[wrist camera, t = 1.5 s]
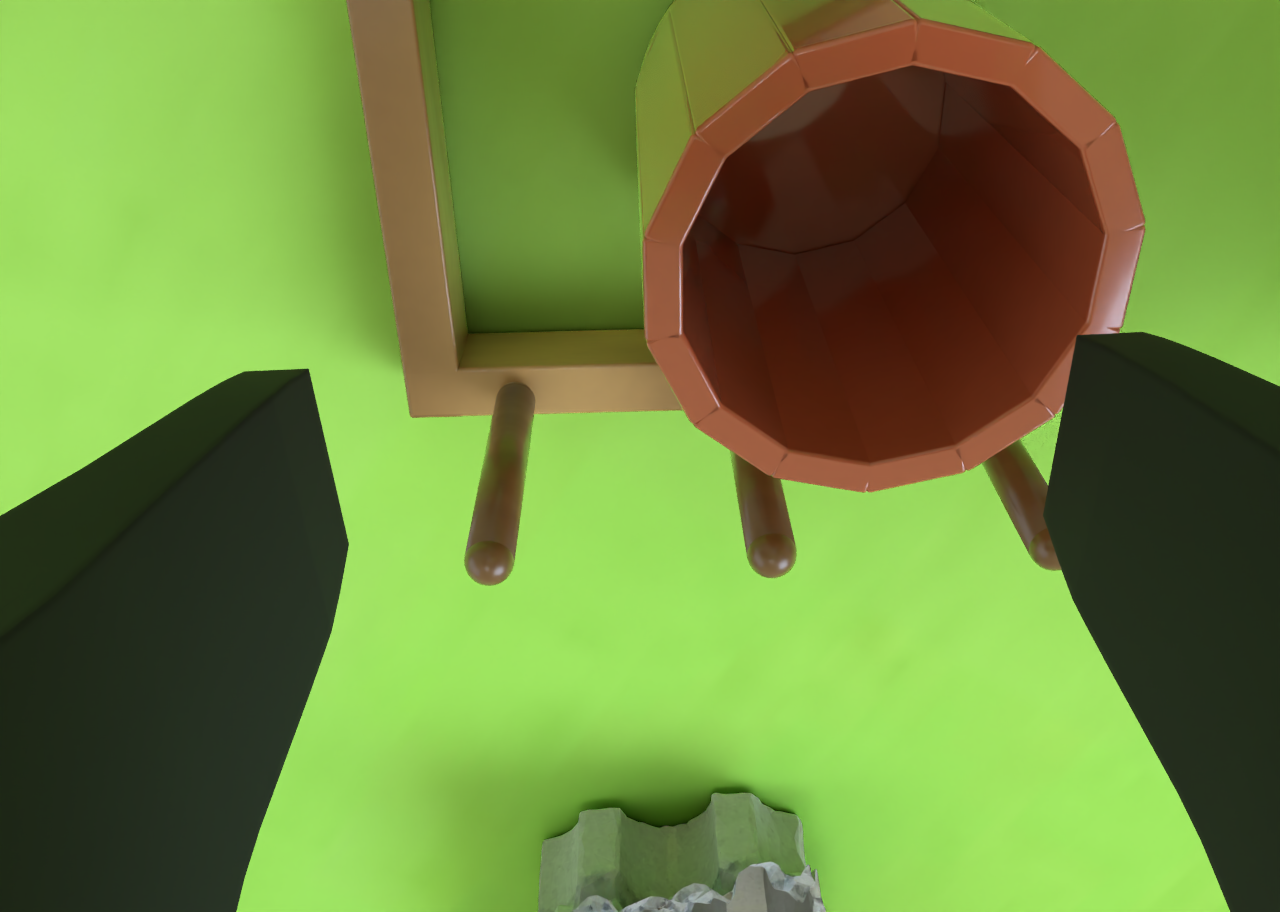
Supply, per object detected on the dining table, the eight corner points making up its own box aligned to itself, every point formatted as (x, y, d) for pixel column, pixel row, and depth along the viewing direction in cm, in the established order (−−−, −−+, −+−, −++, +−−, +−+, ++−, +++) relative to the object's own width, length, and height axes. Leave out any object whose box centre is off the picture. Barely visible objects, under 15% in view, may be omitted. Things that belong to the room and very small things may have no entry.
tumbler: (983, -79, 17) (1198, 11, 11) (938, 260, 20) (1086, 488, 14) (631, -70, 17) (636, 26, 11) (638, 268, 20) (647, 499, 14)
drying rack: (1160, -250, 16) (1467, -259, 10) (1040, 363, 21) (1196, 585, 15) (334, -229, 16) (171, -228, 10) (422, 380, 21) (349, 608, 15)
